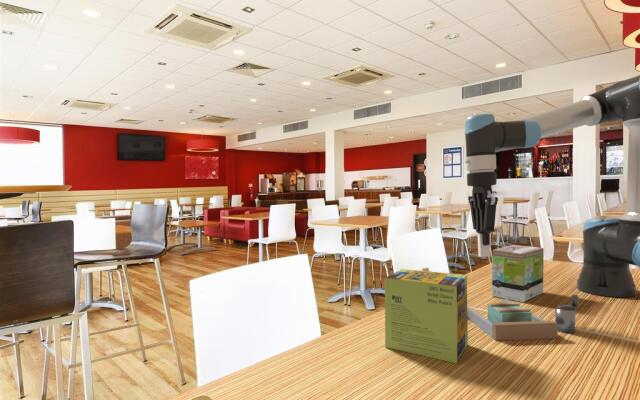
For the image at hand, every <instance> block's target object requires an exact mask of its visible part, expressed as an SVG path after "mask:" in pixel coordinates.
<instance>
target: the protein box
mask: <svg viewBox="0 0 640 400" xmlns="http://www.w3.org/2000/svg"><path fill="white" fill-rule="evenodd" d="M430 271H431V270H429V271H421V270H419V269H405V268H401V269H400V270H397V271H396V272H394V273H392V274H389V275H388V276H386V277H384V310H385V311H384V321H385V322H384V327H385V328H384V329H385V330H384V331H385V332H384V333H385V334H384V335H385V337H384V338H385V339H384V340H385V341H384V342H385V346H384V347H385V348H387V349H391V350H395V351H400V352H404V353H410V354H413V355H419V356H421V357H425V358H426V357H428V358H431V359H435V360H439V361H440V360H441V361H444V362H450V363H454V364H457V363H458V362H460V361H459V360H460V359H461V357H462V356H463V354H464V352H465V351H466V349H467V347H468V345H469V335H468V330H469V329H468V326H469V325H468V324H469V323H468V321H469V319H468V318H467V305H468V275H467V274H461V273H460V274H459V273H448V272H440V271H432V272H430Z"/></svg>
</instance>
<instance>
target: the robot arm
mask: <svg viewBox="0 0 640 400" xmlns="http://www.w3.org/2000/svg"><path fill="white" fill-rule="evenodd" d="M620 121H622V124H623V125H624V126H625V127H626V128H628V142H627V143H628V146H627V170H626V171H627V173H626V174H627V175H626V198H625V213H623V214H622V215H621V216H620V217H617V218H614V217H613V218H594V219H592V218H591V219H587V220H585V221H584V222H583V229H582V236H583V237H582V239H583V240H582V241H583V244H582V245H583V246H582V250H583V251H582V253H583V256H582V257H583V262H582V264H583V266H582V267H581V270H580V271H579V276H578V278H577V280H576V288H577V289H578V290H580V291H582V292H585V293H588V294H592V295H595V296H596V295H598V296H602V297H603V296H605V297H613V298H630V297H634V296H636V295H637V286H636V284H635V281H634V278H633V275H632V273H631V270H630V265H631V266H636V267H639V268H640V74H639V75H636V76H633V77H630V78H627V79H625V80H621V81H617V82H616V83H613V84H610V85H608V86H607V87H604V88H602V89H600V90H598V91H595V92H593V93H590V94H588V95H585V96H582V97H581V98H580V99H578V101H576V102H572V103H570V104H566V105H562V106H559V107H555V108H552V109H550V110H547V111H543V112H541V113H540V112H539V113H537V114H534V115H530V116H526V117H523V118H521V119H517V120H510V121H509V120H508V121H496V119H495V115H494V114H493V113H492V114H491V113H479V114H473V115H470V116H468V117H467V118H466V119H465V121H464V122H465V125H464V136H465V155H466V156H465V157H466V158H465V159H466V160H465V161H464V162H465V164H466V171H467V172H468V173H467V174H466V185H467V187H472V189H471V195H470V196H468V197H467V200H468V203H469V206H470V216H471V221H472V229H473V230H475V232H476V233H477V254H478V257H480V258H487V257H489V258H490V257H491V239H490V238H491V237H490V236H491V233H492V232H493V233H494V231H495V226H496V225H495V224H496V216H497V215H496V214H497V204H498V202H499V197H498V196H494V195H493V188H492V187H493V186H496V185H497V183H498V182H497V172H496V171H495V170H496V169H497V155H496V153H498V152H504V151H509V150H516V149H528V148H534V147H536V146H537V145H538V144H539V142H540V140H541V139H544V138H546V137H550V136H553V135H556V134H560V133H564V132H566V131H570V130H572V129H575V128H576V129H577V128H579V127H583V126H587V127H594V126H598V125H602V124H606V123H611V122H614V123H615V122H620Z"/></svg>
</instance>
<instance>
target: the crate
mask: <svg viewBox="0 0 640 400" xmlns="http://www.w3.org/2000/svg"><path fill="white" fill-rule="evenodd" d="M532 314H533V313H532V311H531V309H530V308H528V307H523V306H521V305H520V302H518V301H511V302H508V303H503V302H488V303H487V320H488V321H489V322H491V323H498V322H526V321H532Z"/></svg>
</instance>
